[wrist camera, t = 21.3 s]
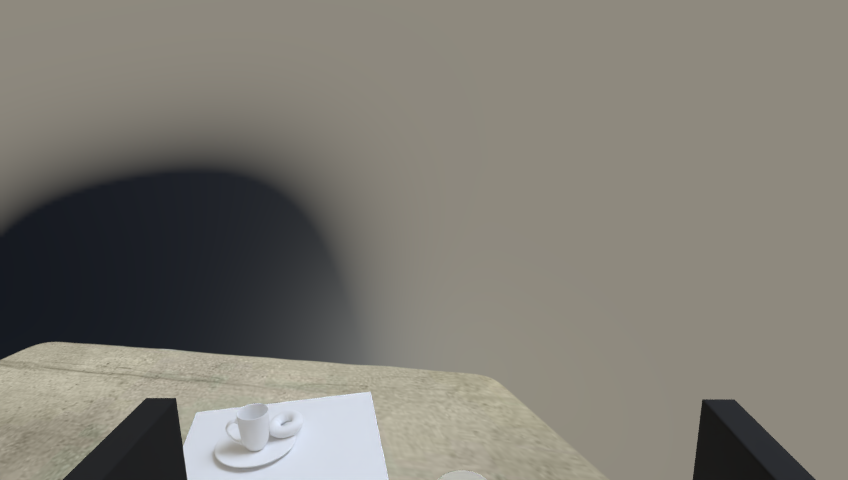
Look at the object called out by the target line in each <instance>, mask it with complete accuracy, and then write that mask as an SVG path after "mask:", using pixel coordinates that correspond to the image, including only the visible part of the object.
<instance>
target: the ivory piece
mask: <svg viewBox="0 0 848 480" xmlns="http://www.w3.org/2000/svg"><path fill="white" fill-rule="evenodd" d="M438 480H486V479H485V478H484V477H483V476H481V475H480V474H478V473H475V472H472V471H467V470H457V471H452V472H448V473H446V474H444V475H443V476H441V477H440V478H439V479H438Z"/></svg>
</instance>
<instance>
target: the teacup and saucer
mask: <svg viewBox="0 0 848 480" xmlns="http://www.w3.org/2000/svg"><path fill="white" fill-rule="evenodd" d="M235 416H236V418H232V419H230V420H229V421H228V422H227V423H226V424H225V428H224V429H225V433H224V434H223V435H222V436H221V437H220V438H219V439H218V441H217V442H216V444H215V446H214V450H213V453H214V456H215V458H216V460H217V461H218V462H219V463H221V464H222V465H224V466H227V467H230V468H235V469H250V468H256V467H260V466H264V465H267V464H270V463H272V462H274V461H276V460H278V459H280V458H281V457H283V456H284V455H286V454H287V453H288V452H289V451H290V450H291V449H292V448H293V446H294V445H295V443H296V440H297V433H298V432H299V431H300V430H301V429H302V427H303V425H304V420H305V419H304V416H303V414H302V413H301V412H300V411H298V410H294V409H289V410H284V411H281V412H279V413H277V414H276V415H275V416H273V417H272V419H270V408H269V406H268V405H267V404H262V403H253V404H249V405H246V406H244V407H240V408H239V409H238V410H237V411H236V413H235ZM232 424H235V425H237V426H235V427H234V428H232V429H230V430H229V427H230V426H231V425H232Z"/></svg>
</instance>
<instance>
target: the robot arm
mask: <svg viewBox="0 0 848 480" xmlns="http://www.w3.org/2000/svg"><path fill="white" fill-rule="evenodd" d="M63 480H187V474H186V466H185V459H184V452H183V445H182V438H181V431H180V424H179V417H178V410H177V403H176V398H146V399H145V400H144V401H143V402H142V403H141V404H140V405H139V406H138V407H137V408H136V409H135V410H134V411H133V412H132V413H131V414H130V415H129V416H128V417H127V418H125V419H124V420H123V421H122V422H121V423H120V424H119V425H118V426H117V427H116V428H115V429H114V430H113V431H112V432H111V433H110V434H109V435H108V436H107V437H106V438H105V439H104V440H103V441H102V442H101V443H100V444H99V445H98V446H97V447H96V448H95V449H94V450H93V451H92V452H91V453H90V454H89V455H87V456H86V457H85V458H84V459H83V460H82V461H81V462H80V463H79V464H78V465H77V466H76V467H75V468H74V469H73V470H72V471H71V472H70V473H69V474H68V475H67V476H66V477H65V478H64V479H63ZM693 480H815V479H814V478H813V477H812V476H811V475H810V474H809V473H808V472H807V471H806V470H805V469H804V468H803V467H802V466H801V465H800V464H799V463H798V462H797V461H796V460H795V459H794V458H793V457H792V456H791V455H790V454H789V453H788V452H787V451H786V450H785V449H784V448H783V447H782V446H781V445H780V444H779V443H778V442H777V441H776V440H775V439H774V438H773V437H772V436H771V435H770V434H769V433H768V432H766V430H765V429H764V428H763V427H762V426H761V425H760V424H759V423H757V422H756V420H755V419H754V418H753V417H752V416H750V415H749V414H748V413H747V412H746V411H745V410H744V409H743V408H742V407H741V406H740V405H739V404H738V403H737V402H736V401H735V400H702V408H701V416H700V424H699V433H698V442H697V449H696V458H695V466H694V474H693Z"/></svg>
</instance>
